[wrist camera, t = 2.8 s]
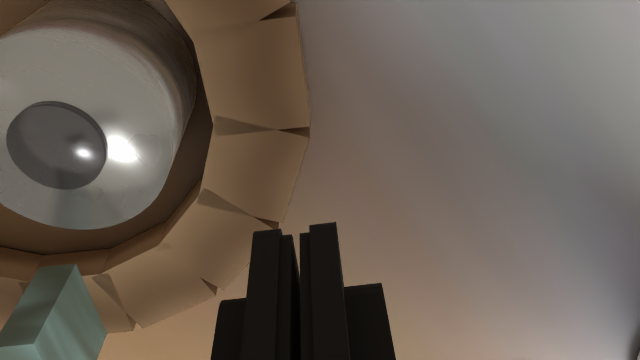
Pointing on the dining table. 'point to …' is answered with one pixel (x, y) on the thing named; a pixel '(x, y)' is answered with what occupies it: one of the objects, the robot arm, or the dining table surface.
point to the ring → (195, 210)
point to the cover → (91, 111)
